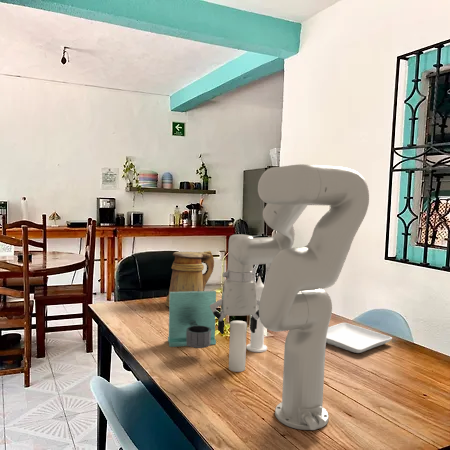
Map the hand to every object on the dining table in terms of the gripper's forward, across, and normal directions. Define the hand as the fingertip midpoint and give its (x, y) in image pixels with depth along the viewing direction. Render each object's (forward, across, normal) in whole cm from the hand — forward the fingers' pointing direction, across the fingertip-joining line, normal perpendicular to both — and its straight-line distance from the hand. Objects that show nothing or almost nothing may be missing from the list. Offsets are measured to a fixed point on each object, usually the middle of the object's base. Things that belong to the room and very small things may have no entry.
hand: (237, 332), depth 132 cm
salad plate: (+12, +47, +15) cm, 51 cm away
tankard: (+13, -2, +72) cm, 74 cm away
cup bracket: (+12, -10, +16) cm, 22 cm away
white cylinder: (+11, 0, -1) cm, 11 cm away
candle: (+12, +11, +14) cm, 21 cm away
